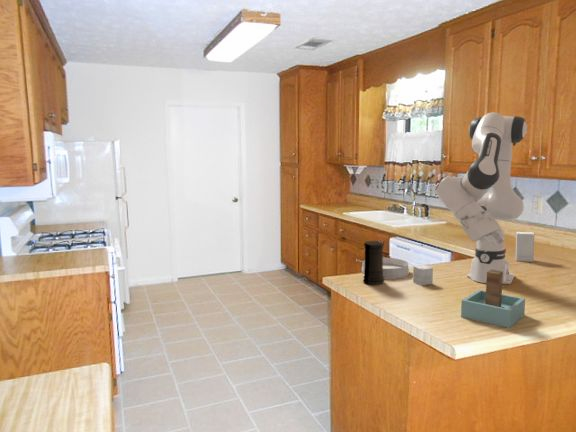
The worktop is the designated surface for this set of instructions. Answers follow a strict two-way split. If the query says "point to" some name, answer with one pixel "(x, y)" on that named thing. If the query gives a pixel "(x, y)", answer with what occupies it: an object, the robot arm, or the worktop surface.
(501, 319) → the socket
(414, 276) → the skincare box
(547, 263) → the worktop surface
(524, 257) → the skincare box
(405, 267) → the dish
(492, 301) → the peg
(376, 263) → the container
